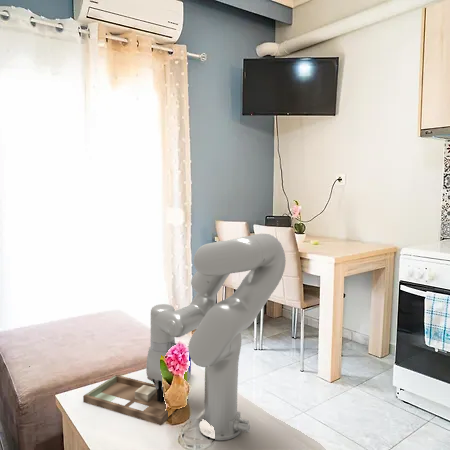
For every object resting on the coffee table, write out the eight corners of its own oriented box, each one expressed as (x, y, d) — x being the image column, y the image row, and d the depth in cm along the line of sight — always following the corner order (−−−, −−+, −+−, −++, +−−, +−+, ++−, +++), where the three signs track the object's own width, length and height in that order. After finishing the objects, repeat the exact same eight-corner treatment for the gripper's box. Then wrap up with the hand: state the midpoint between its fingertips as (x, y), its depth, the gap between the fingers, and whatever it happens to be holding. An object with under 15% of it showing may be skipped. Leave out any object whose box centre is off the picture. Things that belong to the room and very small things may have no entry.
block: (156, 395, 133) (156, 387, 133) (147, 402, 128) (147, 395, 128) (143, 391, 135) (143, 384, 135) (134, 398, 130) (134, 391, 130)
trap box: (188, 403, 131) (188, 393, 131) (160, 430, 117) (160, 418, 116) (116, 384, 143) (116, 374, 143) (83, 406, 128) (83, 395, 128)
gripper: (189, 344, 128) (188, 399, 129) (149, 336, 134) (149, 389, 136) (176, 353, 121) (176, 411, 123) (135, 344, 127) (135, 399, 129)
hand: (162, 399), depth 129 cm, fingers closed
